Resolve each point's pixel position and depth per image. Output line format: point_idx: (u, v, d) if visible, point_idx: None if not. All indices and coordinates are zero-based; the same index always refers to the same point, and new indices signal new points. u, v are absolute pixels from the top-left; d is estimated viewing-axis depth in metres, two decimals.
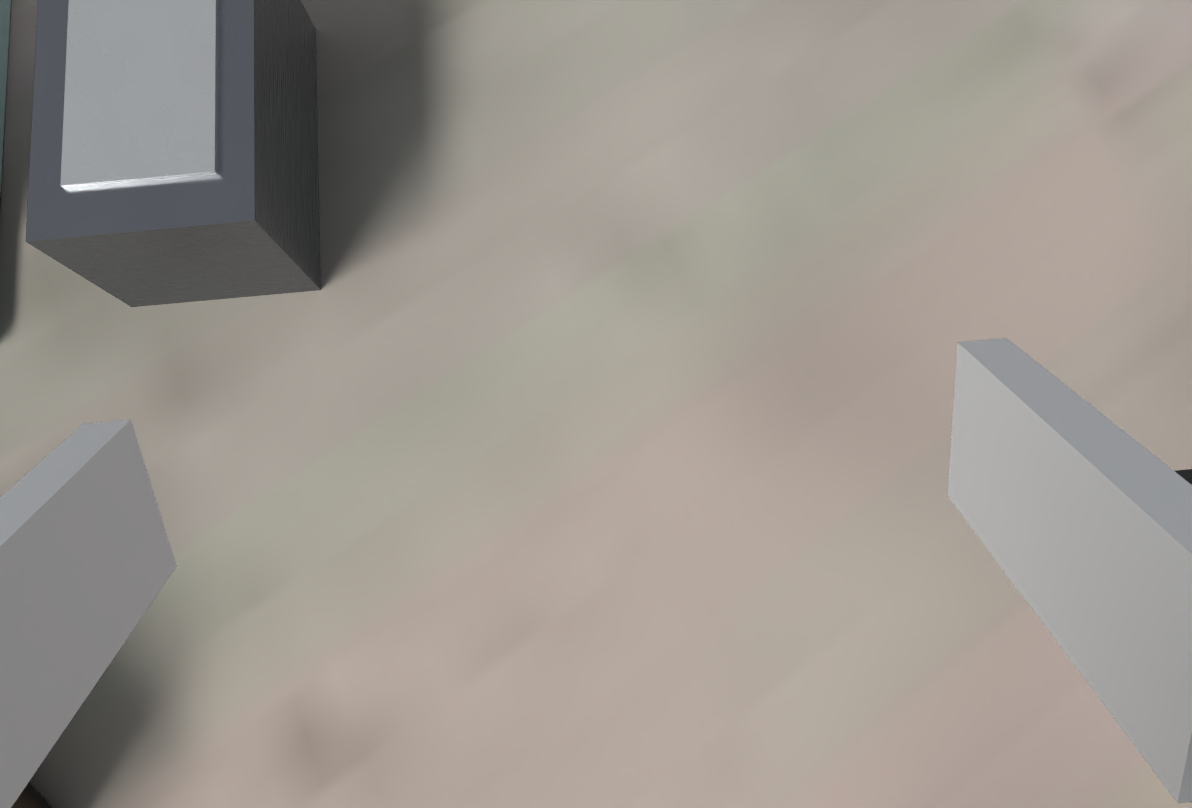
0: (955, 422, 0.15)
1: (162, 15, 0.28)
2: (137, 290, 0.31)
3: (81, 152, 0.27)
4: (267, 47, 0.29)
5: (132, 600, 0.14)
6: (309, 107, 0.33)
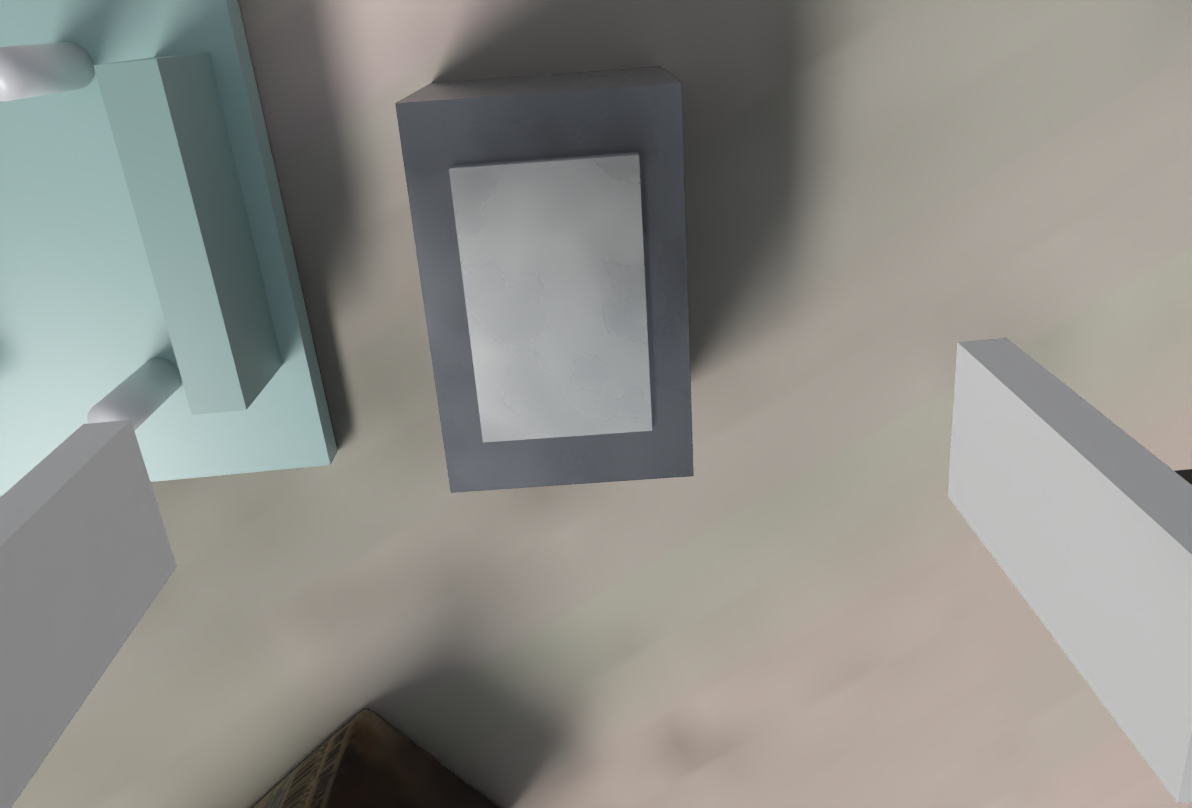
0: (955, 422, 0.15)
1: (576, 239, 0.23)
2: None
3: (500, 406, 0.24)
4: None
5: (132, 600, 0.14)
6: None
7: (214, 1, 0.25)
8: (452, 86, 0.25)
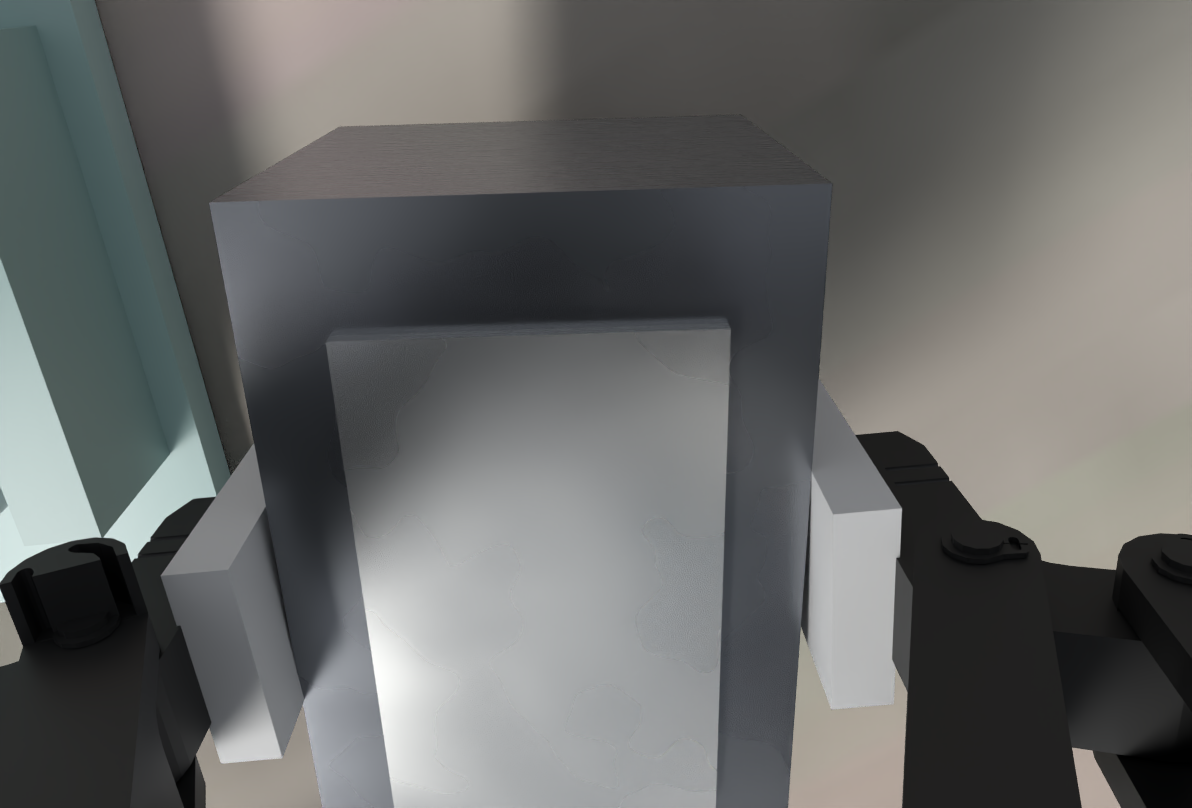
0: None
1: (591, 485, 0.11)
2: None
3: (430, 765, 0.13)
4: None
5: None
6: None
7: None
8: (365, 143, 0.14)
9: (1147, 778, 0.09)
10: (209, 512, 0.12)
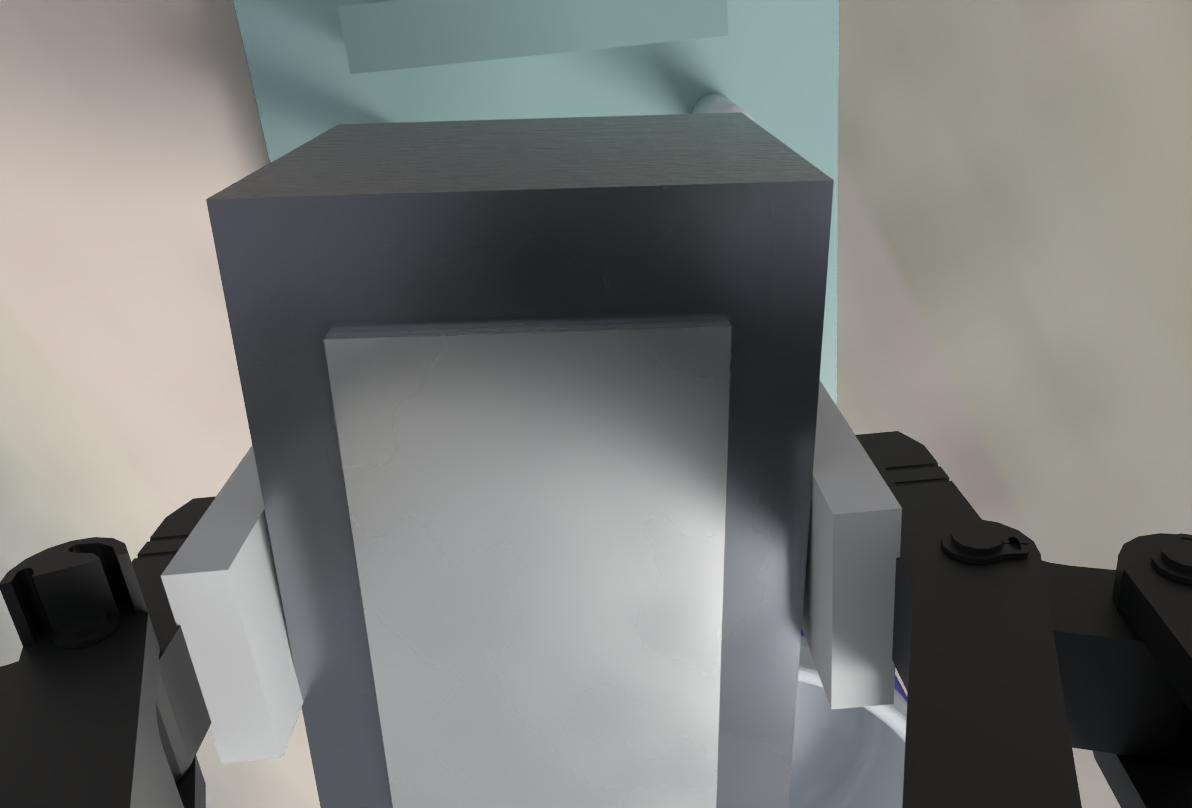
0: None
1: (590, 484, 0.11)
2: None
3: (429, 766, 0.13)
4: None
5: None
6: None
7: None
8: (364, 141, 0.14)
9: (1147, 778, 0.09)
10: (209, 512, 0.12)
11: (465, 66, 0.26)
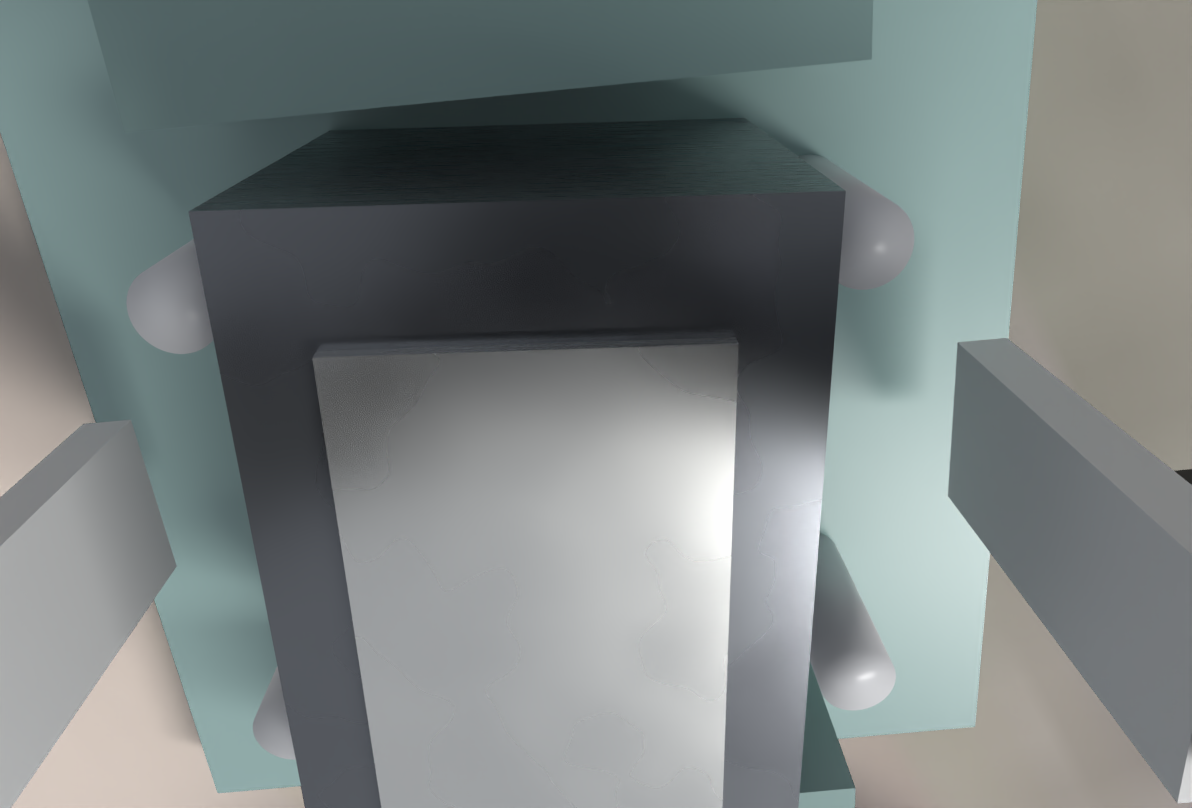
0: (955, 422, 0.15)
1: (591, 507, 0.11)
2: None
3: (424, 797, 0.12)
4: None
5: (132, 600, 0.14)
6: None
7: None
8: (355, 148, 0.13)
9: None
10: None
11: None
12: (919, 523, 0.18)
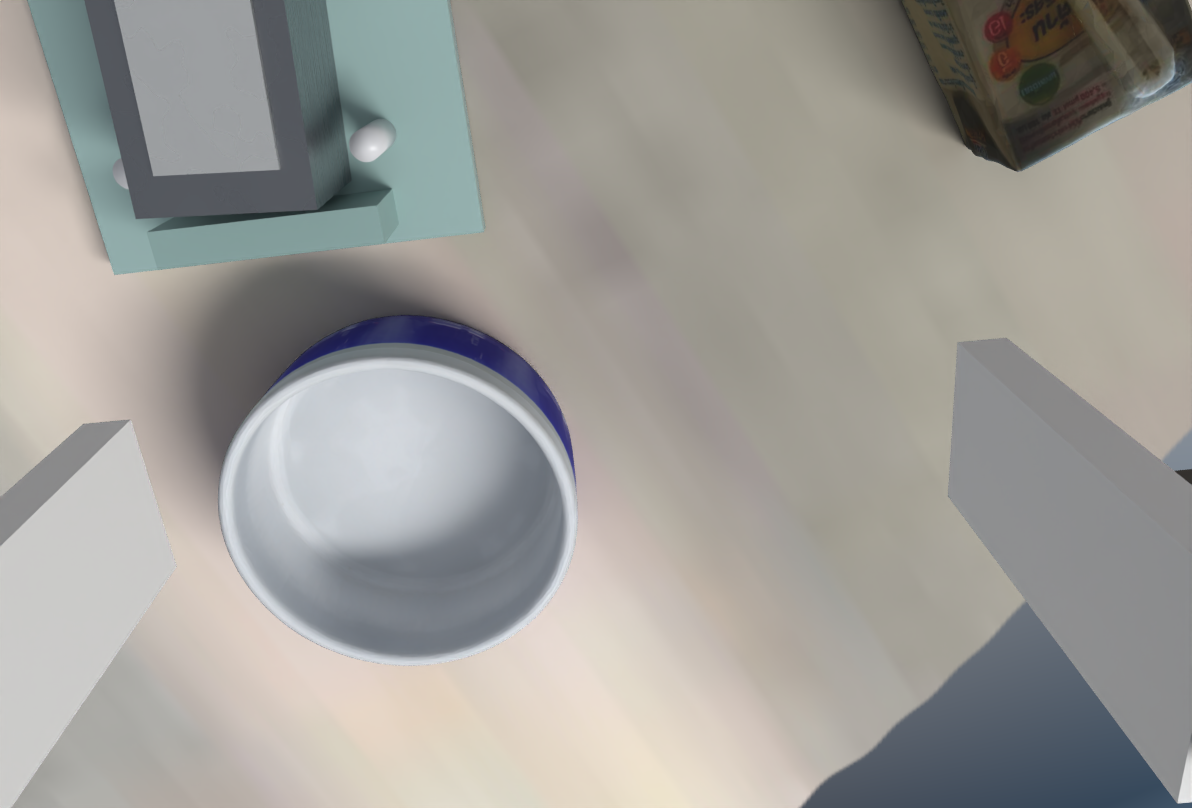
0: (956, 422, 0.15)
1: (204, 14, 0.31)
2: None
3: (163, 147, 0.33)
4: (296, 25, 0.33)
5: (132, 600, 0.14)
6: (321, 17, 0.36)
7: None
8: None
9: None
10: None
11: None
12: (430, 113, 0.39)
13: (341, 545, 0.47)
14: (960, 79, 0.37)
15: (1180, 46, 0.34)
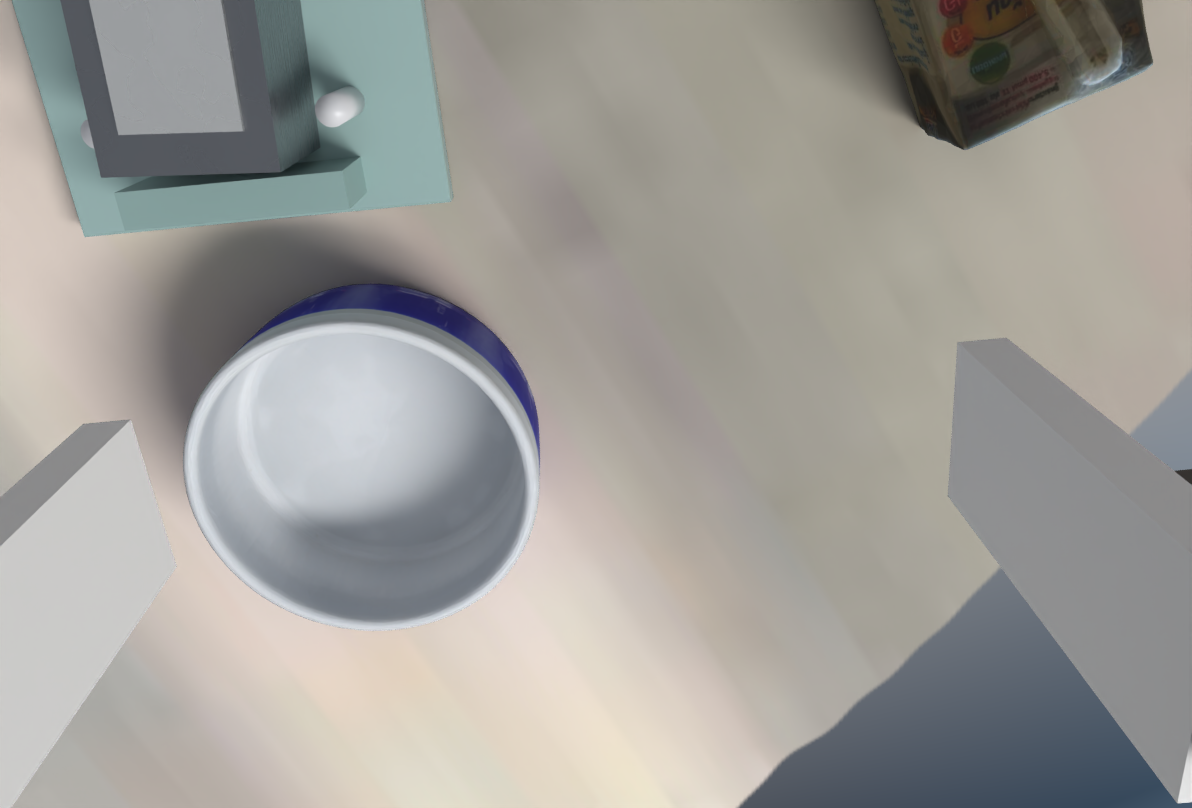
0: (955, 422, 0.15)
1: None
2: None
3: (128, 106, 0.34)
4: None
5: (132, 600, 0.14)
6: None
7: None
8: None
9: None
10: None
11: None
12: (398, 82, 0.39)
13: (308, 512, 0.48)
14: (916, 55, 0.38)
15: (1128, 36, 0.35)
